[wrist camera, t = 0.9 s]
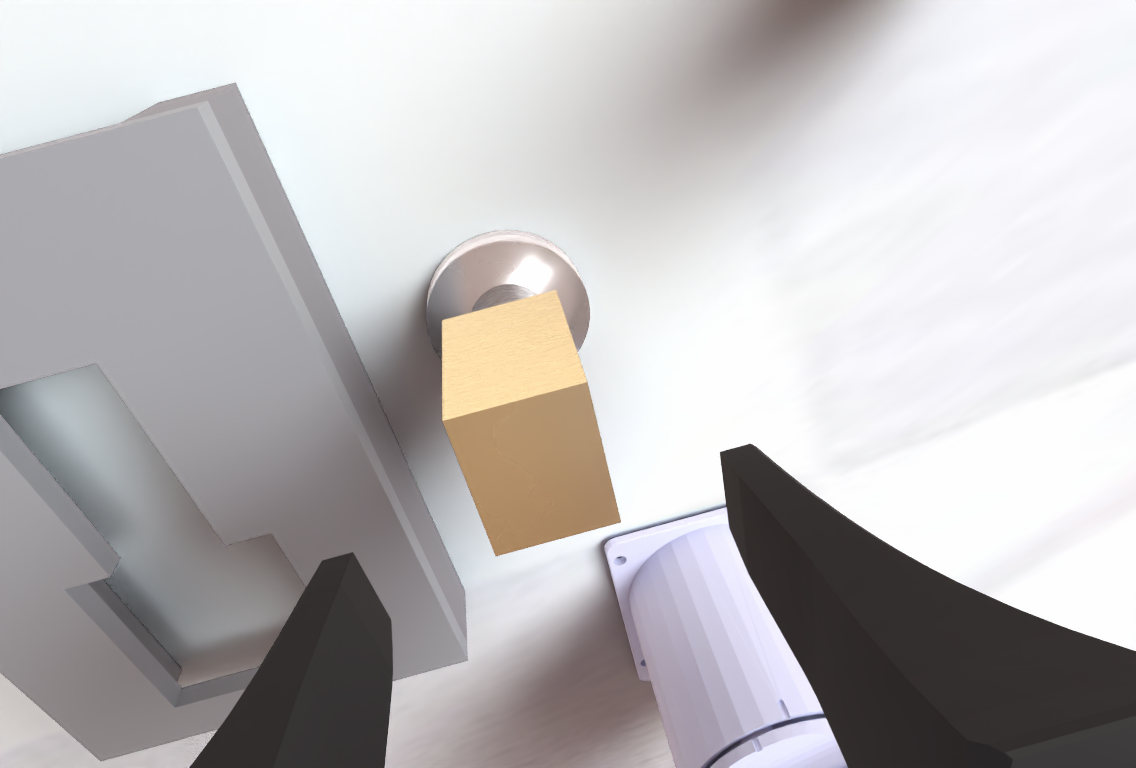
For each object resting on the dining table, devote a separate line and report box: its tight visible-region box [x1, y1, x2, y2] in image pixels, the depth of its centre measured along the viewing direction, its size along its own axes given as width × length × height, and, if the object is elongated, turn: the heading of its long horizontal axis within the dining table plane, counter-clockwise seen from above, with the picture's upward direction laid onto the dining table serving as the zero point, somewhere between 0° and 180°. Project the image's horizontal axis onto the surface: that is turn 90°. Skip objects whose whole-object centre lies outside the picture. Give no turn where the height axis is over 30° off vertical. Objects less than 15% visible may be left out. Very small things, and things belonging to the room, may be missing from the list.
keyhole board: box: [0, 83, 468, 761], centre depth 22 cm, size 20×14×3 cm
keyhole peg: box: [427, 230, 621, 556], centre depth 18 cm, size 5×5×8 cm
